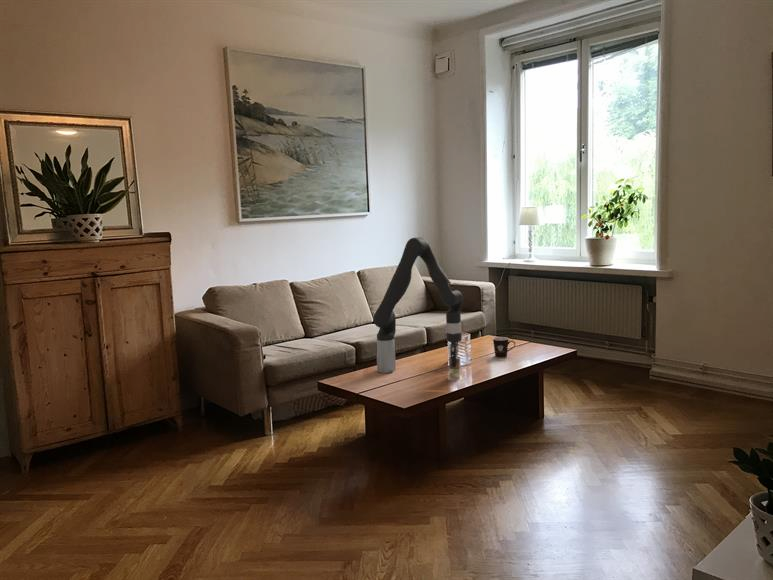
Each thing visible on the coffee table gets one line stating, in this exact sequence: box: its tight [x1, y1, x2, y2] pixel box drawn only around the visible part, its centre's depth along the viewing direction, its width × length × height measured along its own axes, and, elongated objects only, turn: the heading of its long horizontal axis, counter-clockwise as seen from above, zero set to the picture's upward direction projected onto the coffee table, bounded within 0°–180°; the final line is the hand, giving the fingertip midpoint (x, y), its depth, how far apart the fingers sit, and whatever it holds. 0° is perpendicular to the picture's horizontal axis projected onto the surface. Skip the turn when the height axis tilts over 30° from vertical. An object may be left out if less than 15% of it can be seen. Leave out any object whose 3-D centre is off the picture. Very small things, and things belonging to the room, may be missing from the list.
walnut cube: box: [448, 356, 461, 370], centre depth 311 cm, size 5×5×5 cm
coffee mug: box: [492, 336, 516, 358], centre depth 352 cm, size 12×9×10 cm
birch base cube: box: [448, 368, 461, 379], centre depth 311 cm, size 5×5×5 cm
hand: (454, 364), depth 311 cm, fingers open, 5 cm apart
